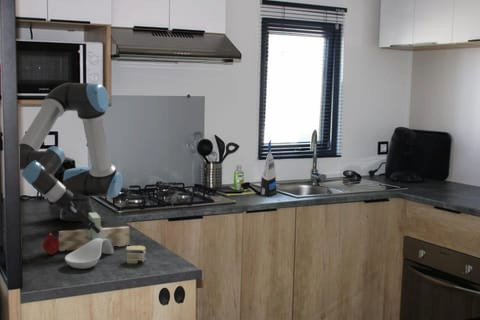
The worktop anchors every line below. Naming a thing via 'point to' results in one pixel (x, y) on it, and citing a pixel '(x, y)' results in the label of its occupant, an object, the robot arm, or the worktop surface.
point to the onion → (51, 244)
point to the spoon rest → (89, 253)
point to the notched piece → (97, 220)
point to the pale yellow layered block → (135, 254)
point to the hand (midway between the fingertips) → (102, 234)
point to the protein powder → (268, 176)
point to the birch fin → (80, 238)
